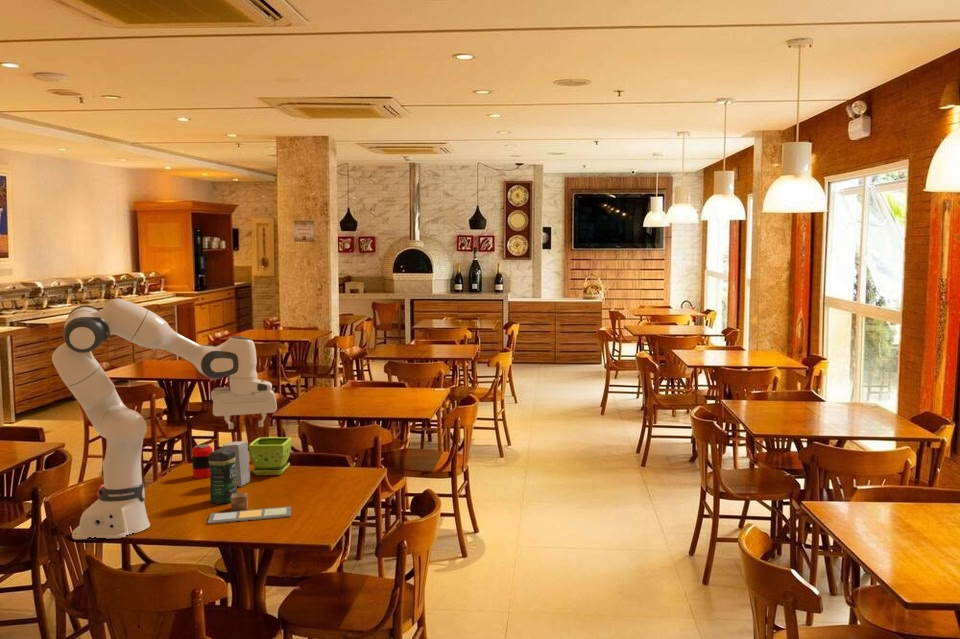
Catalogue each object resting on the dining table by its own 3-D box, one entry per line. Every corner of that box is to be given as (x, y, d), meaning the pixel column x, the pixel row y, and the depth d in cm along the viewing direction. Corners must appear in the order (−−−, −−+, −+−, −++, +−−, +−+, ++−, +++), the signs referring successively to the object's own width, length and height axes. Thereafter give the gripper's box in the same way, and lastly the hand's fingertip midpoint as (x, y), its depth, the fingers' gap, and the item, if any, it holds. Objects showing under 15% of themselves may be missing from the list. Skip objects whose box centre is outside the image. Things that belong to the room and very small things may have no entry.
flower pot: (248, 477, 325) (247, 445, 324) (259, 468, 339) (258, 437, 338) (284, 476, 325) (283, 444, 324) (294, 467, 339) (292, 436, 338)
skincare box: (241, 487, 311) (239, 445, 310) (223, 487, 312) (221, 445, 311) (251, 481, 319) (249, 440, 318) (233, 481, 320) (231, 440, 319)
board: (207, 524, 269) (207, 522, 269) (210, 515, 278) (210, 512, 278) (290, 517, 274) (290, 514, 274) (291, 508, 284) (291, 505, 284)
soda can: (189, 478, 326) (187, 447, 326) (202, 473, 333) (200, 443, 332) (204, 479, 324) (202, 448, 323) (217, 474, 330) (216, 444, 330)
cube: (231, 512, 281) (230, 497, 281) (232, 508, 286) (232, 493, 286) (247, 511, 282) (246, 496, 282) (247, 506, 287) (247, 492, 287)
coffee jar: (228, 505, 289) (226, 451, 288) (207, 504, 290) (204, 451, 289) (241, 496, 299) (238, 445, 297) (220, 496, 300) (217, 445, 299)
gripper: (209, 389, 269) (211, 431, 270) (275, 385, 273) (277, 427, 274) (211, 386, 275) (213, 428, 276) (276, 382, 279) (278, 423, 280)
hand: (246, 427), depth 275 cm, fingers open, 8 cm apart
